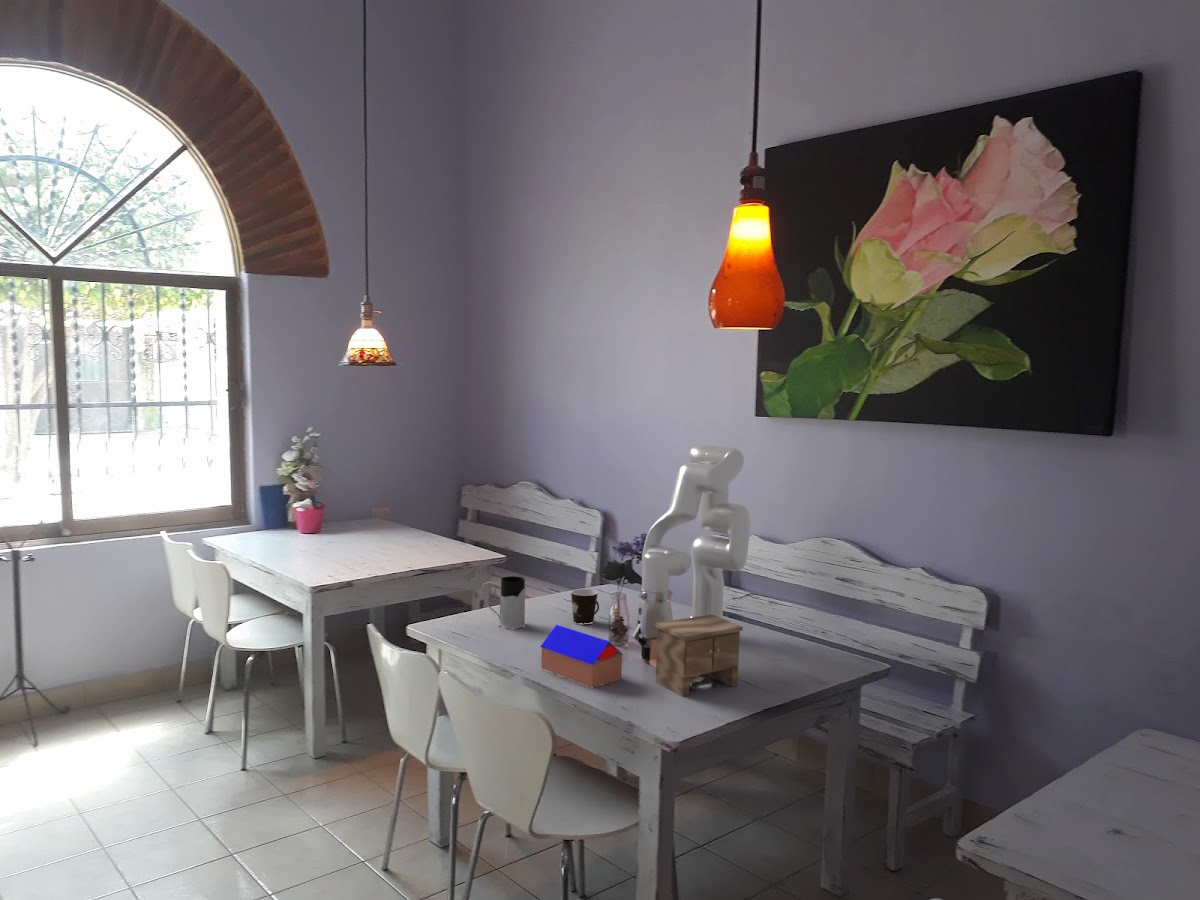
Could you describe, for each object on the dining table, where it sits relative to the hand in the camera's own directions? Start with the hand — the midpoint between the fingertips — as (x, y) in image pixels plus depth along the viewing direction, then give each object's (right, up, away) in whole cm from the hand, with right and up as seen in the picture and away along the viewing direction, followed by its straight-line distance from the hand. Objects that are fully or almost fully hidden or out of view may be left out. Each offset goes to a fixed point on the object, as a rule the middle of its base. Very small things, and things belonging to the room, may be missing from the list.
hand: (652, 658), depth 258 cm
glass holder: (-46, +3, +31) cm, 55 cm away
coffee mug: (-20, +3, +35) cm, 40 cm away
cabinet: (+11, -3, -17) cm, 21 cm away
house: (-20, -2, -12) cm, 24 cm away
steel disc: (+12, -3, -19) cm, 23 cm away
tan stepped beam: (+4, -2, -7) cm, 8 cm away
